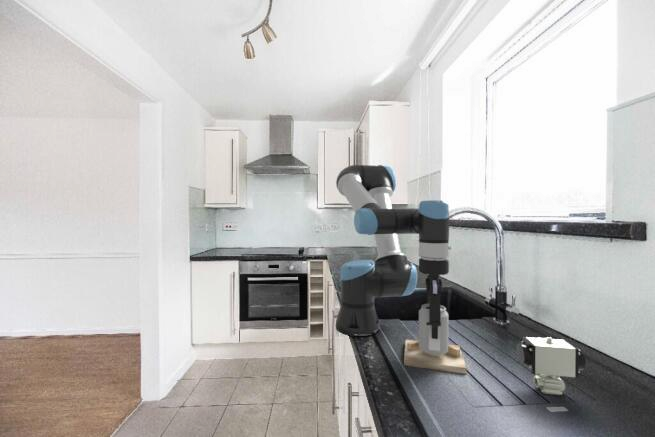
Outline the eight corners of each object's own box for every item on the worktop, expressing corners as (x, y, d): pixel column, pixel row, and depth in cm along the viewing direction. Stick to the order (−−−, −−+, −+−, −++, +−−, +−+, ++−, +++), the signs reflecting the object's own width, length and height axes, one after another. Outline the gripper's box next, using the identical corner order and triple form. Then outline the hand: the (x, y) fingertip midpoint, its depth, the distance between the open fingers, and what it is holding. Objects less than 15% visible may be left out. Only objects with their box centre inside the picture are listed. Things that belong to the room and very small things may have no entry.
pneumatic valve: (586, 400, 62) (586, 344, 62) (524, 393, 64) (525, 339, 64) (570, 385, 67) (570, 333, 67) (514, 379, 70) (514, 330, 69)
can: (424, 342, 83) (424, 300, 83) (452, 349, 79) (452, 305, 78) (414, 351, 78) (414, 307, 77) (442, 360, 73) (443, 313, 73)
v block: (405, 344, 89) (405, 332, 89) (459, 350, 85) (459, 338, 84) (404, 365, 76) (404, 351, 76) (466, 374, 72) (466, 360, 72)
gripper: (453, 265, 67) (453, 363, 67) (445, 253, 86) (444, 330, 87) (419, 263, 69) (419, 359, 69) (418, 252, 89) (418, 327, 89)
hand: (433, 342), depth 78 cm, fingers closed on can, 7 cm apart
